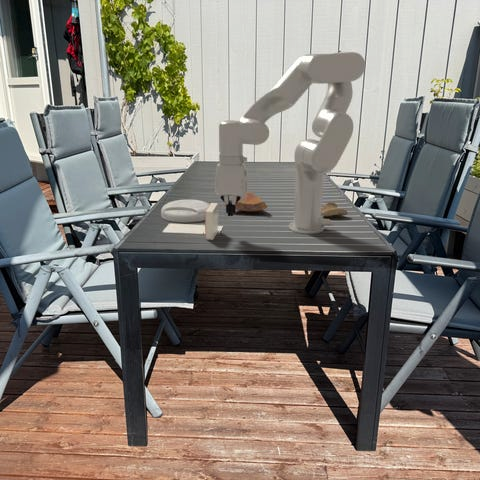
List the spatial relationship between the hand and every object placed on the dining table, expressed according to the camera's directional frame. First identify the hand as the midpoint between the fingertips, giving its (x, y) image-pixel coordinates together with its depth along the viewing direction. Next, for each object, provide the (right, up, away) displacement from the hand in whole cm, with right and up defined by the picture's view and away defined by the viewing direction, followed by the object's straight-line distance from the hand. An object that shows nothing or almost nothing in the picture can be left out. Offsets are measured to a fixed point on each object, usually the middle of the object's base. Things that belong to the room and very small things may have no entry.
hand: (230, 214), depth 153 cm
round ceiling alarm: (-18, -1, +28) cm, 34 cm away
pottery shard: (+41, +1, +24) cm, 48 cm away
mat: (-14, -7, +5) cm, 17 cm away
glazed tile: (-6, -7, +4) cm, 10 cm away
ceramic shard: (+14, +4, +31) cm, 35 cm away
